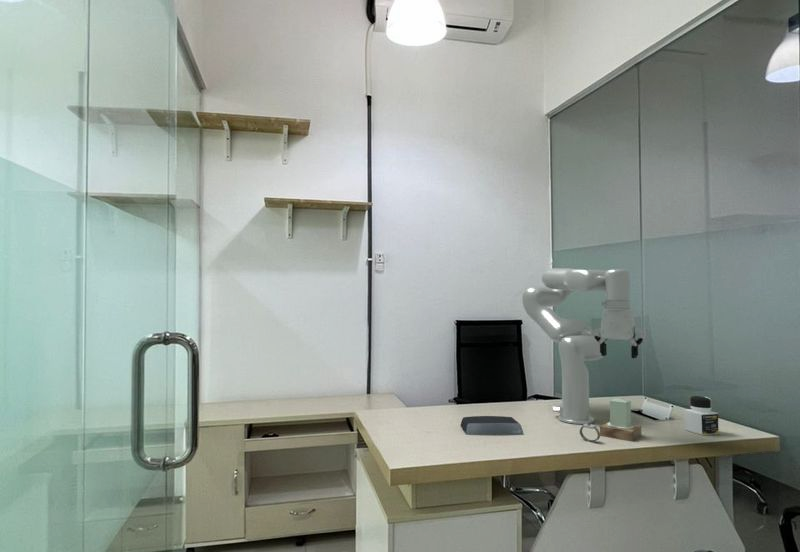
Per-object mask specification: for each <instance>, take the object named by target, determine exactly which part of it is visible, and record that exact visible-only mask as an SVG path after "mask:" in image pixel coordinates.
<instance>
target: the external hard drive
mask: <svg viewBox="0 0 800 552" xmlns="http://www.w3.org/2000/svg"><path fill="white" fill-rule="evenodd" d="M460 427H461V429H462V431H463V433H465V435H467V436H519V435H520V436H521V435H524V430H523V428H522V427H523V426H522V424H521V423H520V422H518V421H517V420H516V419H515V418H514V417H512V416H503V415H501V416H500V415H476V416H475V415H474V416H464V417H462V418H461V423H460Z"/></svg>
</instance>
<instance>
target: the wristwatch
mask: <svg viewBox="0 0 800 552" xmlns="http://www.w3.org/2000/svg"><path fill="white" fill-rule="evenodd" d="M584 428H586V429H587V428H588V429H592V430H593V429H594V431H595V432H596V433H597V434H596V435H597V437H596V438H595V439H589V438H587V437H586V436H585V435H584V433H583V429H584ZM579 434H580V436H581V438H582V439H583V440H584V441H586V442H590V443H593V442H595V441H598V440H599V439H600V437H601V436H600V429H599V428H598V427H597V425H595V424H592V423H591V424H582V426H581V427H580V428H579Z"/></svg>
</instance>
